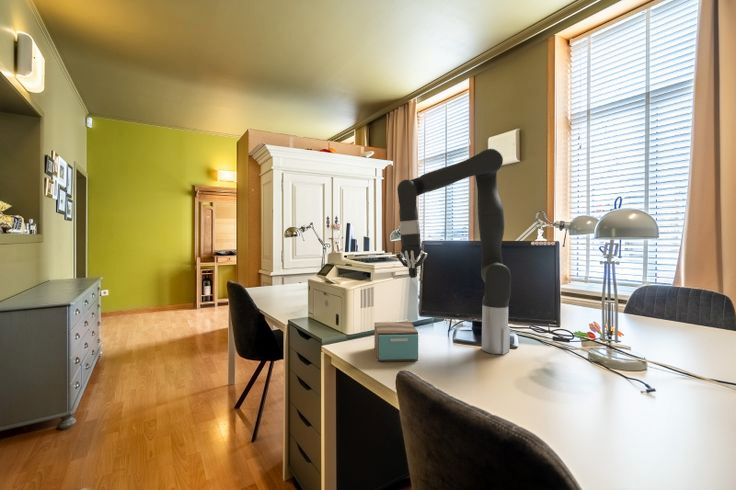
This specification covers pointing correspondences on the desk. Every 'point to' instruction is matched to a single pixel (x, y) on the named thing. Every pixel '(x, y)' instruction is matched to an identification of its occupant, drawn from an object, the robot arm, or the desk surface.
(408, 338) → the teal pull-out drawer
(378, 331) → the drawer box
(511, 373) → the desk surface
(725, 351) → the desk surface
